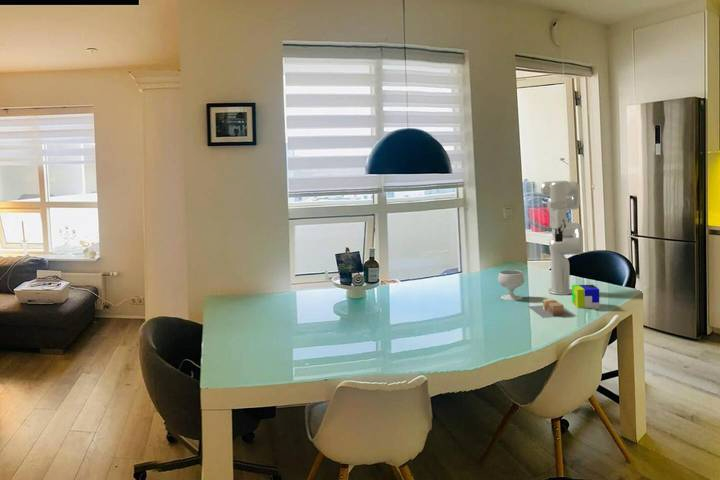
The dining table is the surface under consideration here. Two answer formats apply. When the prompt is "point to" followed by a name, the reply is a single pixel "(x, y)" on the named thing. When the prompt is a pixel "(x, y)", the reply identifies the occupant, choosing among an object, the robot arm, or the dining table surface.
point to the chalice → (511, 283)
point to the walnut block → (553, 307)
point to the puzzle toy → (585, 296)
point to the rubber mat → (544, 314)
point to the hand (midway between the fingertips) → (558, 241)
